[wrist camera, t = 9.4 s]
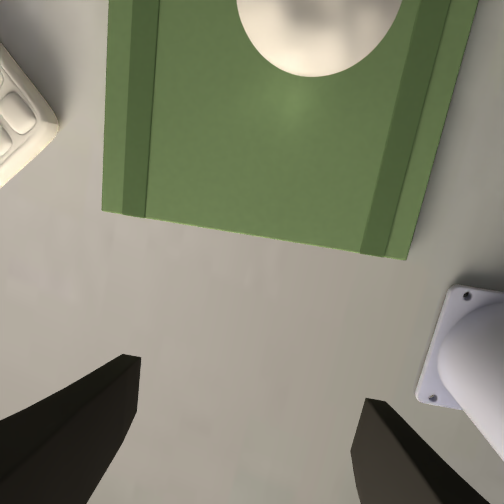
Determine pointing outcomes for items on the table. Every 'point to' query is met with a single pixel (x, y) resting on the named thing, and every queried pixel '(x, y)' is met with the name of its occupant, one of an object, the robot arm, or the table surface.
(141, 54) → the towel
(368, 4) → the milkshake
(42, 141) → the calculator
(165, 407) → the table surface
